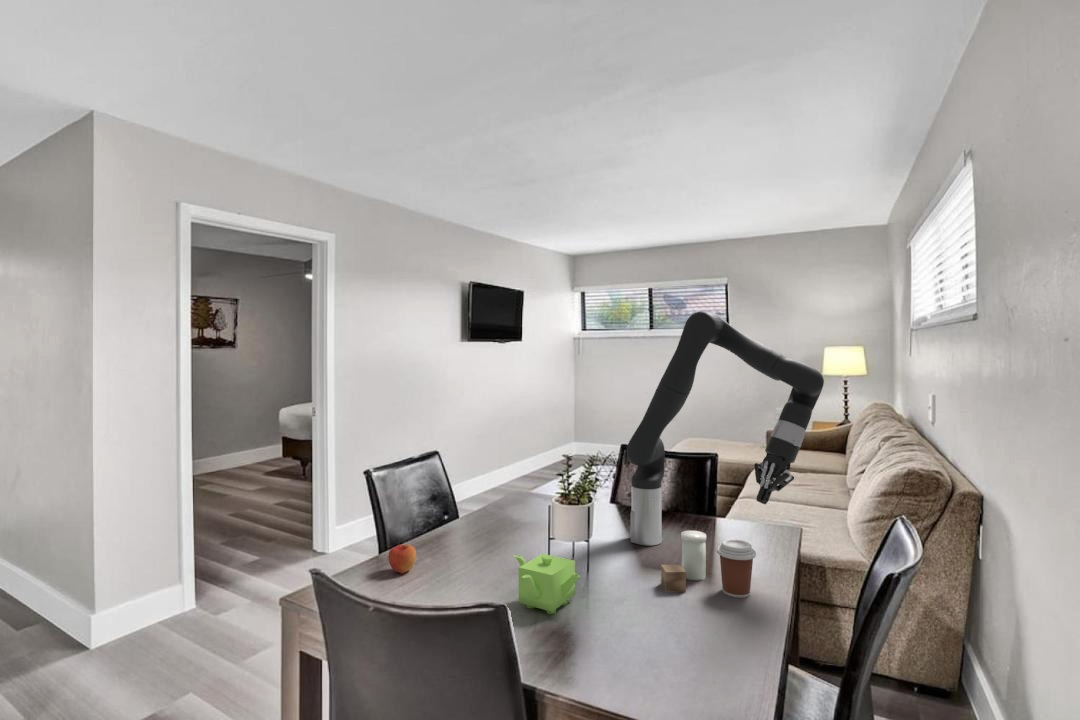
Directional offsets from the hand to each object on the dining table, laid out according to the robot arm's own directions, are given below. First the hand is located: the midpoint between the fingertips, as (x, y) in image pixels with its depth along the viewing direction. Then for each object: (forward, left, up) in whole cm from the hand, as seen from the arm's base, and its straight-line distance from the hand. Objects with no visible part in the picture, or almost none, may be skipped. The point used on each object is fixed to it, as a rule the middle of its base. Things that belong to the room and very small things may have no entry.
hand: (760, 502), depth 147 cm
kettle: (-51, -28, -20) cm, 61 cm away
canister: (-17, -2, -20) cm, 26 cm away
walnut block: (-22, -11, -20) cm, 32 cm away
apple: (-93, -18, -20) cm, 97 cm away
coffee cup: (-7, -10, -20) cm, 23 cm away
